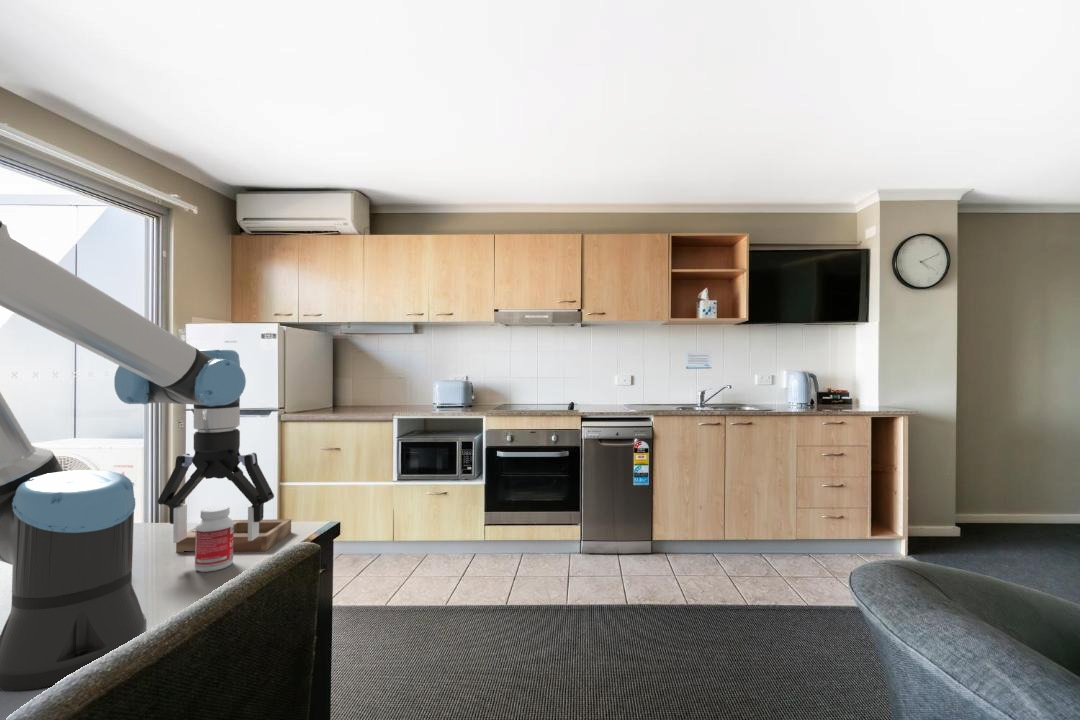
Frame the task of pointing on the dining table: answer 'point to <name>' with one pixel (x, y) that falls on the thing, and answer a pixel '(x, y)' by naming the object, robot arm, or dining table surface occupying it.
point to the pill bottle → (214, 539)
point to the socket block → (267, 536)
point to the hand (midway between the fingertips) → (217, 539)
